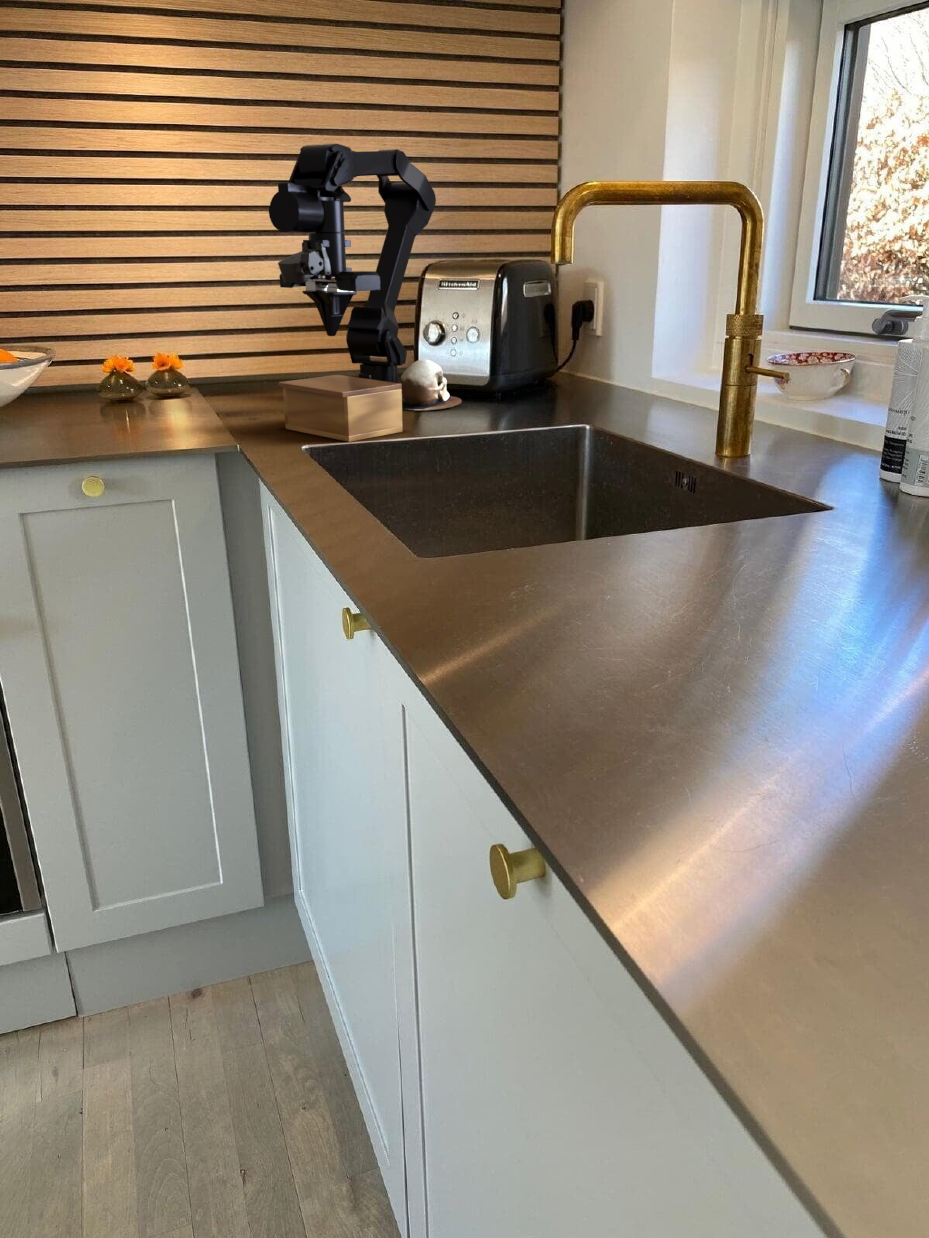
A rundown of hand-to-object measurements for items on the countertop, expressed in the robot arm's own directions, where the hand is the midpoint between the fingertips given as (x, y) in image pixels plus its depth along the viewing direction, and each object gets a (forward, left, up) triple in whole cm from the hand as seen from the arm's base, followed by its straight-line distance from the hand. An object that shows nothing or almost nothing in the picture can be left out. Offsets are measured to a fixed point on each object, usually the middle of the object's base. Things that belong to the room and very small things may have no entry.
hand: (331, 336), depth 154 cm
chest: (+11, +15, -12) cm, 22 cm away
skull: (-14, +8, -12) cm, 20 cm away
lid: (+11, +15, -6) cm, 20 cm away
